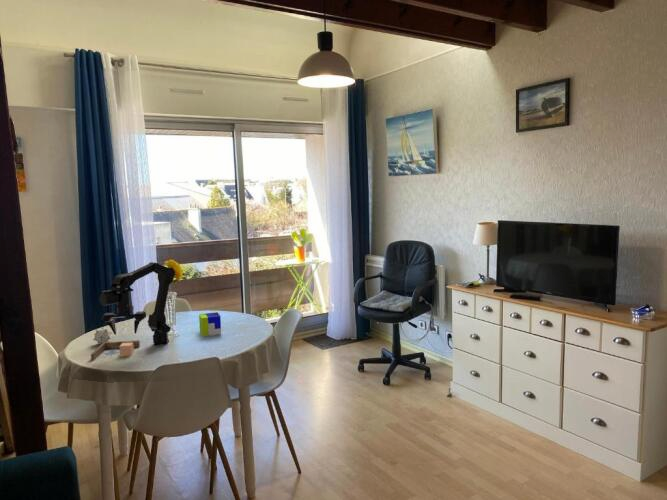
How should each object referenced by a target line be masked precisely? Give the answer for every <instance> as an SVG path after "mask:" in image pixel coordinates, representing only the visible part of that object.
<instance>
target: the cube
mask: <svg viewBox="0 0 667 500" xmlns="http://www.w3.org/2000/svg"><path fill="white" fill-rule="evenodd" d="M119 347H120V348H119V351H120V352H119V356H120V357H131V356H132V355H133V354H134V353H135V349H134V348H135V347H134V346H133V342H132V343H122V344H121V345H120V346H119Z"/></svg>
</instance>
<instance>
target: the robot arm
mask: <svg viewBox="0 0 667 500" xmlns="http://www.w3.org/2000/svg"><path fill="white" fill-rule="evenodd" d="M151 273H155V274H157V280H158V289H157V294H156V300H155V306H154V309H153V312H152V313H151V314H148V320H147V324H148V325H147V326H148V327H149V329H150V331H151V332H153V334H152V341H153V345H154V346H163V345H168V343H169V342H170V339H169V332H171V327H170V325H169V324H167V318H166V315H165V314H166V313H165V311H166V307H167V306H166V305H167V300H168V299H167V298H168V293H169V288H170V285H171V283H172V282H173V281H174V278H175V276H176V271H175V268H173V267H170V266H169V267H168V266H165V265H162V264H160V263H158V262H155V261H153V262H152V261H150V262H149V263H148V264H145V265H143V266H142V267H141V266H140V267H139V268H137V269H135V270H133V271H130V272H128V273H122V274H118V275H116V276H114V278H113V281H112V283H111V285H110V286H109V288H108V290H101V294H100V295H99V303H100V305H101V306H103V307H106V306H111V305H115V304H116V305H115V306H116V309H117V311H116V312H117V314H115V312H105V313H104V314H103V315H101V322H105V324H107V325H108V326H109V328H110V330H112V333H113V334H114V335H117V328H116V319H118V320H119V319H135V320H134V322H133V325H134V326H133V327H134V328H133V332H134V334H137V331H138V328H139V324H140V322H142V321H143V320H145V318H147V312H146V311H144V310H143V311H136V312H135V313H134V306H133V305H132V303H131V299H130V297H131V296H130V292H134V289H133V288H132V287H131V286H132V285H134V284H135V282H136V281H138V280H139V279H141V278H143V277H146V276H148V275H149V274H151Z"/></svg>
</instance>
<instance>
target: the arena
mask: <svg viewBox="0 0 667 500" xmlns="http://www.w3.org/2000/svg"><path fill="white" fill-rule="evenodd" d="M132 342H133V346H134V348H140V346H141V345H140V344H141V343H140V340H122V341H121V340H120V341H118V340H117V341H109V342H104V343H102V344H101V343H100V345H99V346H98V347H97V348H96V349H95V350H93V351H92V352H91V353H90V360H91V361H95V360H96V359H97V358H98V357H99V356H100V355H102V353H103V354H105V355H108V356H111V355H115V354H120V347H119V346H120V345H121V344H122V343H132ZM107 349H111V350H107ZM105 350H107V351H105Z"/></svg>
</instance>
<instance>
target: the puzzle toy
mask: <svg viewBox="0 0 667 500" xmlns="http://www.w3.org/2000/svg"><path fill="white" fill-rule="evenodd" d="M221 318H222V317H221V315H220V314H219V312H218V311H217V312H207V313H199V314H198V319H199V320H198V321H199V332H201V333H200V335H201V334H202V335H201V336H202V337H208V336H207V335H210V336H216V335H215V334H219V335H222V323H221V322H222V321H221Z"/></svg>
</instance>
